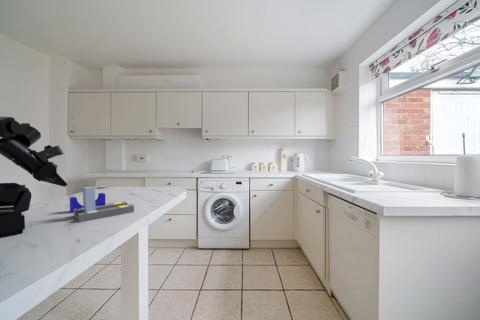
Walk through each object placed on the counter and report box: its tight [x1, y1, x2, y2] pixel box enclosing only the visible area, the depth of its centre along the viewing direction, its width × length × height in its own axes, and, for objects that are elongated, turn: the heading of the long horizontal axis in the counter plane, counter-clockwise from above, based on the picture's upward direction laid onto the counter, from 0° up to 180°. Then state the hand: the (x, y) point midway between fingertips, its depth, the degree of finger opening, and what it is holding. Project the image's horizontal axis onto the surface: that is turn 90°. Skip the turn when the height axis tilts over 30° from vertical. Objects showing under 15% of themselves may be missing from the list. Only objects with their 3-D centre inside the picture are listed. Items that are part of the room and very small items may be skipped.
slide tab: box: [82, 186, 96, 212], centre depth 81 cm, size 3×4×10 cm
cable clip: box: [69, 192, 106, 214], centre depth 93 cm, size 12×4×6 cm, turn 144°
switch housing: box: [73, 201, 135, 223], centre depth 85 cm, size 18×10×3 cm, turn 136°
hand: (66, 185), depth 76 cm, fingers closed
